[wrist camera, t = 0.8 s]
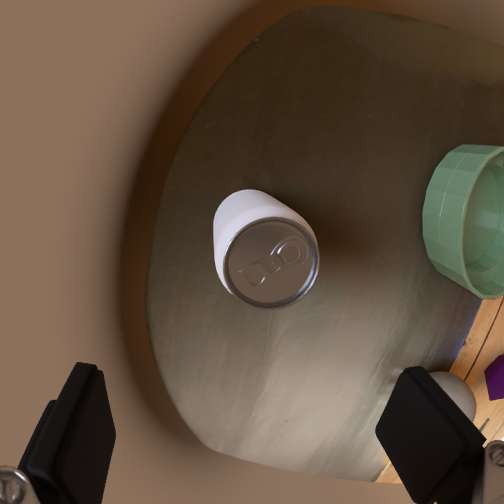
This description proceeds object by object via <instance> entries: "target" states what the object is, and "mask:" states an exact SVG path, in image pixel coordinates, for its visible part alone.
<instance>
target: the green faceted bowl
mask: <svg viewBox="0 0 504 504" xmlns="http://www.w3.org/2000/svg"><path fill="white" fill-rule="evenodd" d="M422 218H423V239H424V243H425V246H426V250H427V254H428V257H429V259H430V260H431V262H432V264H433V265H434V267H435V268H436V270H437V271H438V272H439V273H441V274H442V275H444V276H445V277H447V278H448V279H450V280H451V281H453V282H455V283H456V284H458V285H460V286H461V287H463V288H465V289H466V290H468V291H470V292H471V293H473V294H474V295H476V296H478V297H479V298H481V299H496V298H499V297H501V296H503V295H504V146H498V145H482V144H463V145H461V146H459V147H457V148H455V149H453V150H451V151H450V152H448V154H447V155H446V156H445V157H444V158H443V160H442V161H441V162H440V163H439V164H438V166H437V167H436V169H435V171H434V173H433V176H432V178H431V180H430V182H429V185H428V187H427V191H426V196H425V202H424V207H423V213H422Z"/></svg>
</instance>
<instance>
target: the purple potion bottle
mask: <svg viewBox="0 0 504 504" xmlns="http://www.w3.org/2000/svg"><path fill="white" fill-rule="evenodd" d="M485 378H486V384H487V389H488V394H489V400H490V401H491V400H497V399H502V398H504V355H500V356H498V357H497V358H496V360H495V361H494V362H493V363H492V364H491V365H490V366H489V367H488V368H487V369H486V370H485Z"/></svg>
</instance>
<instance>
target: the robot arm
mask: <svg viewBox="0 0 504 504" xmlns="http://www.w3.org/2000/svg"><path fill="white" fill-rule="evenodd" d="M375 433H376V436H377V438H378V440H379V441H380V443H381V445H382V447H383V448H384V450H385V452H386V454H387V456H388V457H389V459H390V461H391V463H392V464H393V466H394V468H395V470H396V472H397V473H398V475H399V477H400V479H401V481H402V482H403V484H404V486H405V488H406V490H407V491H408V493H409V495H410V497H411V499H412V500H413V501H414V502H415V503H417V504H433V503H434V502H435V501H436V503H437V504H504V441H501V440H494V441H491V442H489V443H488V444H487V445H486V447H485V448H484V447H483V446H482V445H483V444H484V442H485V441H486V440H487V439H486V438H485V437H484V436H483V434H482V433H481V432H480V431H479V430H478V429H477V427H476V426H475V425H474V424H473V423H472V422H471V420H470V419H469V418H468V417H467V416H466V415H465V414H464V412H463V411H462V410H461V409H460V408H459V407H458V406H457V404H456V403H455V402H454V401H453V400H452V399H451V398H450V396H449V395H448V394H447V393H446V392H445V391H444V390H443V389H442V388H441V386H440V385H439V384H438V383H437V382H436V381H435V380H434V379H433V378H432V376H431V375H430V374H429V373H428V372H427V371H426V370H425V369H424V368H423V367H422V366H416V367H409V368H406V369H404V371H403V372H402V373H401V374H400V375H399V377H398V380H397V382H396V385H395V387H394V389H393V391H392V394H391V396H390V398H389V400H388V403H387V405H386V407H385V409H384V411H383V413H382V415H381V417H380V420H379V422H378V424H377V426H376V429H375ZM115 439H116V431H115V427H114V422H113V418H112V414H111V410H110V405H109V400H108V395H107V391H106V385H105V380H104V374H103V371H101V370H98V369H97V366H96V365H94V364H88V363H82V362H77V363H76V364H75V366H74V368H73V370H72V372H71V373H70V376H69V377H68V379H67V381H66V383H65V385H64V387H63V389H62V391H61V393H60V395H59V396H58V399H57V400H51V401H50V402H49V403H48V405H47V406H46V408H45V411H44V412H43V414H42V417H41V418H40V420H39V422H38V424H37V426H36V428H35V430H34V433H33V435H32V437H31V439H30V441H29V443H28V445H27V447H26V450H25V452H24V454H23V456H22V459H21V461H20V463H19V465H18V468H15V467H12V466H6V465H5V466H0V504H101V503H102V498H103V493H104V488H105V483H106V479H107V474H108V469H109V465H110V461H111V456H112V452H113V448H114V444H115Z"/></svg>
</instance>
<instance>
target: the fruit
mask: <svg viewBox="0 0 504 504" xmlns="http://www.w3.org/2000/svg"><path fill="white" fill-rule="evenodd" d="M429 374H430V375H431V376H432V378H433V379H434V380H435V381H436V382H437V383H438V384H439V385H440V386H441V388H442V389H443V390H444V391H445V392H446V393H447V394H448V395H449V396H450V398H451V399H452V400H453V401H454V402H455V403H456V404H457V406H458V407H459V408H460V409H461V410H462V411H463V412H464V414H465V415H466V416H467V417H468V418H469V419H470V420H471V422H472V423H473V421H474V418H475V415H476V400H475V397H474V394H473V392H472V390H471V388H470V387H469V386H468V384H467V383H466V382H465V381H464V380H462V379H461V378H460V377H458V376H457V375H454V374H452V373H449V372H444V371H438V372H431V373H429ZM488 421H489V418H488V419H487V420H486V421H485V423H484V424H483V425H482V427H481V428H480V429H479V431H480V432H481V431H482V430H483V428H484V426H485V425H486V423H487V422H488Z"/></svg>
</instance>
